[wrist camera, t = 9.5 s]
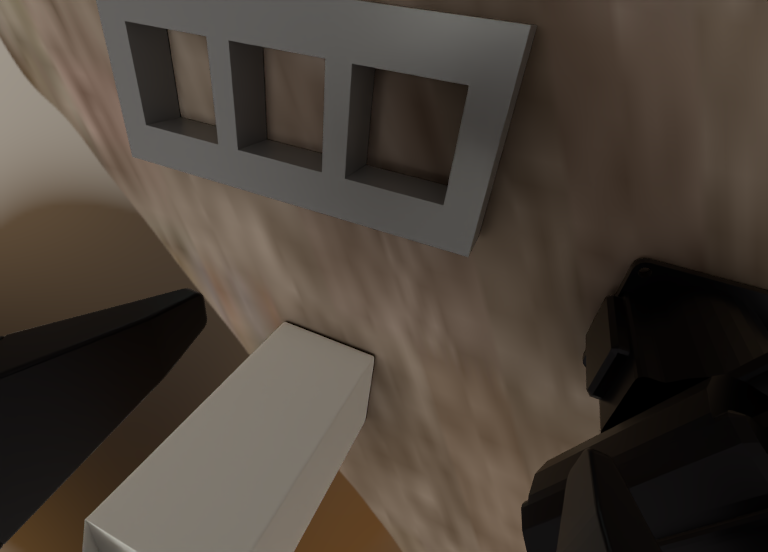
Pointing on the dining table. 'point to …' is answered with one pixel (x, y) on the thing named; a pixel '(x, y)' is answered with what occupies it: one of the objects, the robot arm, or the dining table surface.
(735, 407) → the robot arm
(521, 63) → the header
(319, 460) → the milk carton
